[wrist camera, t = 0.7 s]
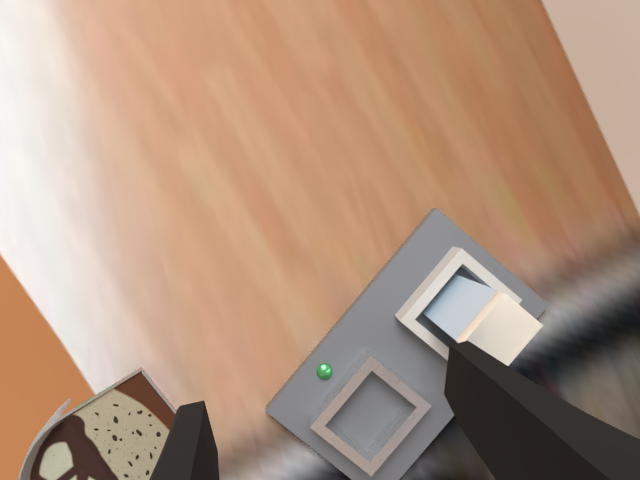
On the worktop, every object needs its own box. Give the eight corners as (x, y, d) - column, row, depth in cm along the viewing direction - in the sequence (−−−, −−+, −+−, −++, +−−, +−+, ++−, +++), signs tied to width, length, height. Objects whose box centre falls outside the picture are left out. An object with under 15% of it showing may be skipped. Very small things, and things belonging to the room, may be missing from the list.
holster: (510, 295, 31) (522, 299, 29) (452, 363, 31) (460, 371, 29) (452, 246, 31) (461, 248, 29) (394, 315, 31) (399, 321, 29)
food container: (69, 398, 32) (-41, 481, 22) (129, 352, 32) (47, 415, 22) (164, 513, 32) (100, 645, 22) (224, 469, 32) (186, 581, 22)
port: (424, 395, 31) (431, 405, 30) (367, 461, 32) (371, 476, 30) (347, 331, 31) (349, 338, 29) (289, 399, 31) (288, 410, 29)
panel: (541, 302, 32) (549, 304, 31) (377, 493, 33) (380, 502, 32) (432, 208, 32) (436, 208, 31) (266, 405, 32) (265, 411, 31)
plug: (482, 297, 31) (543, 325, 23) (450, 336, 31) (499, 376, 23) (454, 274, 31) (505, 293, 23) (421, 312, 31) (461, 345, 23)
